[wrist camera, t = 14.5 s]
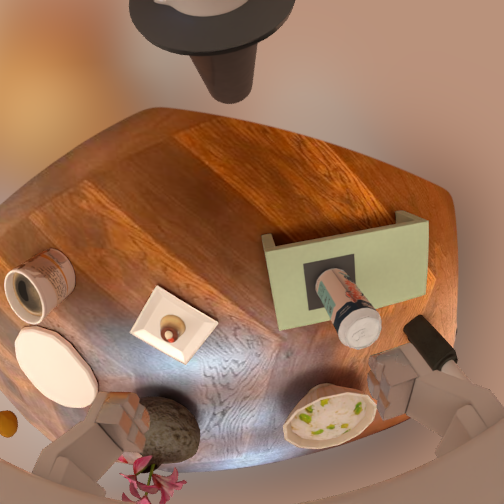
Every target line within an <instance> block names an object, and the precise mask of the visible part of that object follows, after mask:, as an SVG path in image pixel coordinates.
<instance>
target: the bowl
mask: <svg viewBox="0 0 504 504" xmlns="http://www.w3.org/2000/svg"><path fill="white" fill-rule="evenodd" d="M376 409H377V405H376V404H375V402H374V401H373V400H372V399H371V398H370V396H369V395H367V394H365V393H364V392H362V391H360V390H358V389H352V388H347V387H341V386H336V385H334V384H330V383H324V384H319V385H317V386H315V387H313V388H312V389H310V391H309V392H308V393H307V395H305V396H304V397H303V398H302V399H301V400H300V401H299V402H298V404H297V405H296V406H295V408H294V409H293V410H292V411H291V413H290V414H289V415H288V418H287V420H286V421H285V423H284V425H283V429H284V437H285V440H287V441H288V442H290V443H291V444H293V445H295V446H296V447H299V448H309V449H321V448H326V447H331V446H335V445H340V444H342V443H344V442H346V441H348V440H350V439H352V438H354V437H356V436H357V435H359V434H361V433H362V432H363V431H364V430H365V429H366V428H367V427H368V426H369V425H370V424H371V423H372V421H373V420H374V417H375V413H376Z"/></svg>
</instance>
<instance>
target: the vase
mask: <svg viewBox="0 0 504 504" xmlns="http://www.w3.org/2000/svg"><path fill="white" fill-rule="evenodd" d="M139 403H140V404H141V405H143V406H144V407H145V408H146V409H147V411H148V413H149V416H150V426H149V430H148V431H147V432H146V433H145V434H144V436H145V438H146V442H145V445H144V449H143V453H140V454H141V455H142V456H143V457H141V458H138V459H137V460H135V462H134V464H133V470H134V474H135V475H124V474H121V473H120V475H124V477H125V478H127V479H128V480H129V482H130V492H131V494H132V495H133V496H135V497H137V498H139V499H140V500H138V501H136V502H133V501H131V500H130V499H129V498H128V497H127V496H126V495H125V494H124V493H123V494H122V501H125V502H130V503H136V504H151V503H150V501H149V499H148V497H147V494H148V493H150V494H156V493H157V492H158V490H161V494H162V497H161V501H160V504H165V503H166V501H169V500H170V496H171V497H172V496H173V493H174V489H176V490H181V489H182V486H183V484H186V483H187V482H186V481H185V480H183V481H180V482H177V480H178V471H177V469H176V467H175V468H174V471H173V473H172V474H171V475H170V476H167V477H165V476H160V475H157V474H153V471H154V470H156V469H157V468H158V467H159V466H160V465H161V464H168V463H178V462H182V461H185V460H187V459H189V458H191V457H193V456H194V455H195V454H196V452H197V450H198V446H199V442H200V429H199V426H198V424H197V422H196V419H195V417H194V415H193V414H192V413H191V412H190V411H189V410H188V409H187V408H186V407H185V406H183V405H181V404H179V403H177V402H176V401H174V400H172V399H167V398H163V397H144V398H140V400H139ZM118 460H120V461H122V462H125V463H128V462H127V461H126V459H125V458H124V457H123V455H121V456H120V457H119V458H118ZM148 472H150V474H149V478H148V483H147V485H145V484H143V483H140V482H138V481H137V477H136V476H137V475H138V474H140V473H148ZM151 476H152V480H153V482H154V485H152V486H149V485H150V481H151ZM136 484H137V485H136ZM137 487H138V488H139V489H140V490H142V491H146V492H145V496H143V497H142V498H141V497H140V495H139V494H138V492H137V490H136V489H137ZM169 495H170V496H169Z"/></svg>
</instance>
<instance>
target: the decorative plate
mask: <svg viewBox="0 0 504 504" xmlns="http://www.w3.org/2000/svg"><path fill="white" fill-rule="evenodd" d="M15 350H16V357H17V360H18V363H19V365H20V367H21V369H22V370H23V372H24V373H25V374H26V376H27V377H28V378H29V380H30V381H31V382H32V383H33V385H34V386H35V387H36V388H37V389H38V390H39V391H40V392H41V393H42V394H43V395H45V396H46V397H48V398H49V399H51V400H53V401H55V402H57V403H59V404H61V405H63V406H66V407H75V408H84V407H86V406H88V405H90V404H92V403H93V401H94V399H95V397H96V395H97V393H98V383H97V381H96V379H95V376H94V374H93V372H92V370H91V368H90V366H89V365H88V364H87V363H86V362H85V361H84V359H83V358H82V357H81V356H80V355H79V353H78V352H77V351H76V350H75V349H74V347H73V346H72V345H71V343H69V342H68V341H67V340H65V339H64V338H63V337H62V336H60V335H59V334H58V333H57V332H54V331H51V330H48V329H45V328H41V327H38V326H31V327H23V328H22V329H21V331H20V333H19V335H18V337H17V339H16V341H15Z"/></svg>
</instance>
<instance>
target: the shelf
mask: <svg viewBox="0 0 504 504" xmlns="http://www.w3.org/2000/svg"><path fill="white" fill-rule="evenodd" d="M395 215H396V224H393V225H387V226H382V227H377V228H371V229H366V230H361V231H355V232H350V233H344V234H339V235H334V236H328V237H323V238H318V239H312V240H307V241H302V242H296V243H291V244H286V245H280V246H275V243H274V240H273V238H272V235H271V233H270V234H265V235H261V236H262V242H263V247H264V253H265V258H266V263H267V269H268V274H269V280H270V285H271V291H272V297H273V302H274V307H275V312H276V318H277V323H278V328H279V331H280V330H285V329H290V328H295V327H300V326H305V325H310V324H315V323H319V322H324V321H328V320H331V319H330V317H329V315H328V313H327V311H326V309H325V307H324V305H323V303H322V301H321V299H320V297H319V296H318V294H317V292H316V282H317V279H318V278H319V276H320V275H321V274H322V273H323V272H325V271H327V270H329V269H334V268H337V269H341V270H343V271H344V272H346V273H347V275H348V276H349V277H350V278H351V280H352V281H353V282H354V283H355V284H356V286H357V287H358V288H359V289H360V291H361V292H362V293H363V294H364V296H365V297H366V298H367V299H368V301H369V302H370V303H371V304H372V306H373V307H374V308H375V309H377V308H381V307H385V306H388V305H392V304H395V303H399V302H402V301H406V300H409V299H412V298H416V297H419V296H422V295H425V294H426V283H427V268H428V241H429V221H427V220H425V219H422V218H420V217H418V216H415V215H413V214H410V213H408V212H406V211H403V210H400V211H395Z"/></svg>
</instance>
